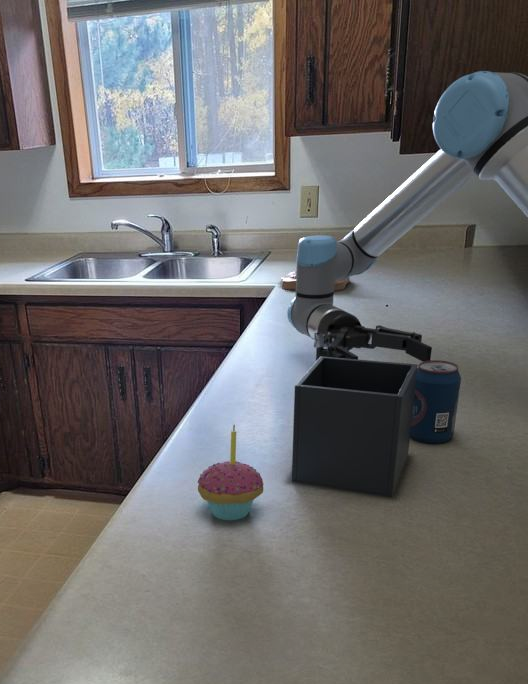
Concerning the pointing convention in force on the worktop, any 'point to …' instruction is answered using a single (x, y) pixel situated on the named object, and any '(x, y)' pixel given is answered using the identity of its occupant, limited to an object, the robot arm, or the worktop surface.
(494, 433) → the worktop surface
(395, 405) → the open dark gray box
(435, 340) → the worktop surface
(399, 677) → the worktop surface
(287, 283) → the plant
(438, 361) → the soda can
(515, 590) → the worktop surface
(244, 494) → the cupcake
